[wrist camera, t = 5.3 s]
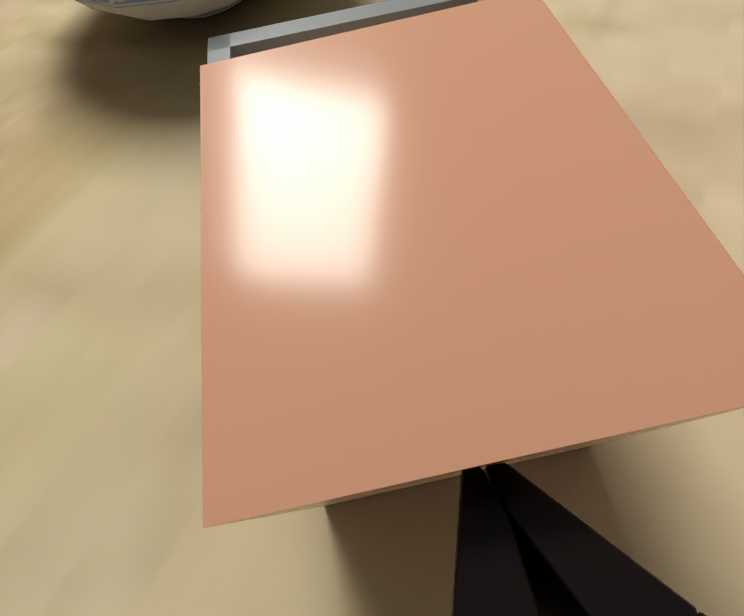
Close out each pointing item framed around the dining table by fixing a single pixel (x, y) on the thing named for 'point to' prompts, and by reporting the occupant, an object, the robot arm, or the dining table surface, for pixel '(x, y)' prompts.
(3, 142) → the dining table surface
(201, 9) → the ramen bowl
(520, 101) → the tile stack
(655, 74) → the dining table surface
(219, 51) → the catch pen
